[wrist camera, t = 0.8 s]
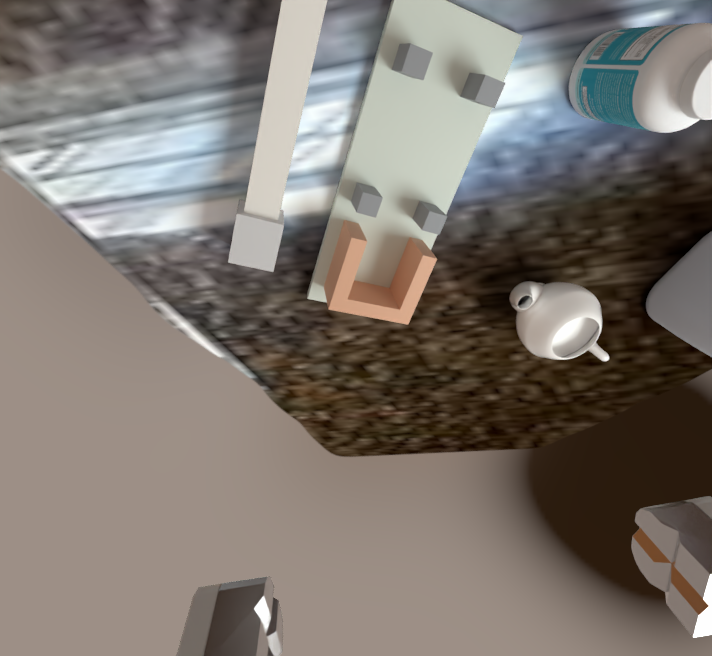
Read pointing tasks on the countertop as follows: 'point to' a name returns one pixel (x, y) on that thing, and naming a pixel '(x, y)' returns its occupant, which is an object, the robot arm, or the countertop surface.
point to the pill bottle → (646, 77)
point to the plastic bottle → (686, 297)
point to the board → (409, 155)
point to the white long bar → (277, 135)
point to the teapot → (557, 319)
